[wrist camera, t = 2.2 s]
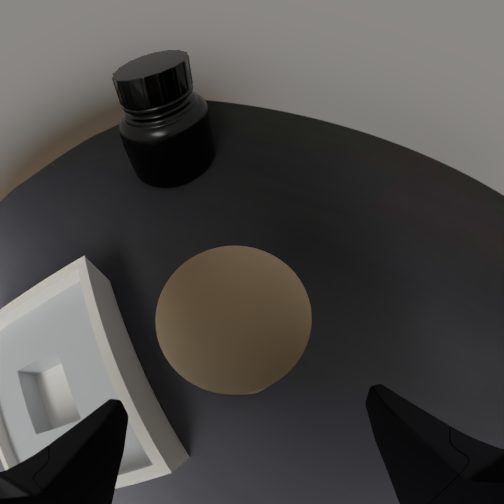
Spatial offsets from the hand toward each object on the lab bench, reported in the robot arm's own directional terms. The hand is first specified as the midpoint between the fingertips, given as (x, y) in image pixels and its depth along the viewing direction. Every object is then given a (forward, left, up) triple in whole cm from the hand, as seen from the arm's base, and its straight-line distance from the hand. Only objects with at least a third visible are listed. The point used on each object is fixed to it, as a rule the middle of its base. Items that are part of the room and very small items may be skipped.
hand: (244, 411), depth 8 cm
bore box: (-9, +12, -10) cm, 18 cm away
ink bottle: (+15, +20, -10) cm, 27 cm away
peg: (+2, +2, -10) cm, 10 cm away
